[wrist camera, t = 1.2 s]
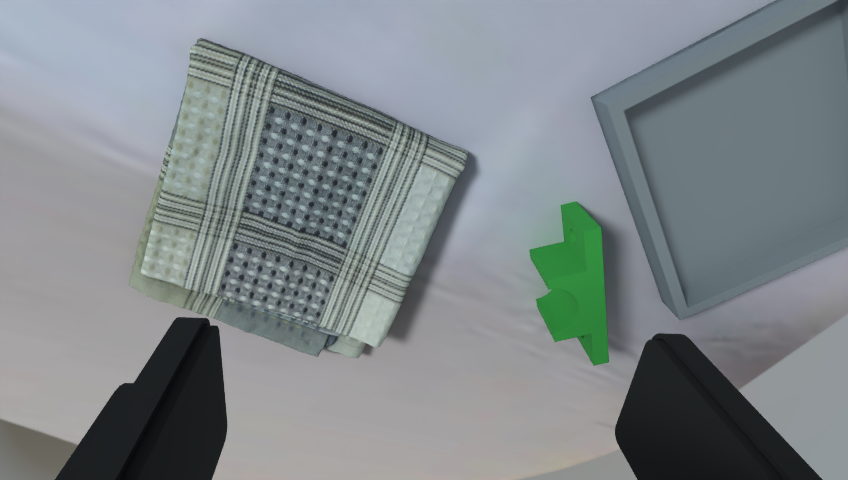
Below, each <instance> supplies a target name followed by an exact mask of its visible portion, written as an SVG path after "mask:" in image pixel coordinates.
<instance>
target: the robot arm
mask: <svg viewBox="0 0 848 480" xmlns="http://www.w3.org/2000/svg"><path fill="white" fill-rule="evenodd" d="M226 434H227V415H226V403H225V392H224V381H223V369H222V358H221V347H220V335H219V328H218V326H210V322H209V320H208V319H207V318H185V317H178V318H176V319H175V320H174V321H173V323H172V325H171V326H170V328H169V329H168V331H167V332H166V334H165V335H164V337H163V339H162V340H161V342H160V343H159V345H158V346H157V348H156V349H155V351H154V353H153V354H152V356H151V357H150V359H149V360H148V362H147V363H146V365H145V367H144V368H143V370H142V371H141V373H140V374H139V376H138V378H137V379H136V381H135V382H134V383H124V384H122V385H121V386H119V387H118V388H117V390H116V391H115V392H114V393H113V395H112V396H111V398H110V399H109V401H108V402H107V404H106V405H105V407H104V408H103V410H102V411H101V412H100V414H99V415H98V417H97V418H96V420H95V421H94V423H93V424H92V426H91V427H90V429H89V430H88V432H87V433H86V435H85V436H84V438H83V439H82V440H81V442H80V443H79V445H78V446H77V448H76V449H75V451H74V453H73V454H72V455H71V457H70V458H69V460H68V461H67V463H66V464H65V466H64V467H63V469H62V470H61V471H60V473H59V474H58V476H57V477H56V479H55V480H212V477H213V474H214V472H215V469H216V466H217V463H218V460H219V457H220V454H221V451H222V448H223V446H224V442H225V439H226ZM615 436H616V440H617V443H618V445H619V447H620V449H621V450H622V452H623V454H624V456H625V457H626V459H627V461H628V463H629V465H630V467H631V468H632V470H633V472H634V474H635V476H636V477H637V479H638V480H822V479H821V478H820V477H819V475H818V474H817V473H816V472H815V471H814V470H813V469H812V468H811V467H810V466H809V465H808V464H807V463H806V462H805V461H804V460H803V459H802V458H801V456H800V455H799V454H798V453H797V452H796V451H795V450H794V449H793V448H792V447H791V446H790V445H789V444H788V443H787V442H786V441H785V440H784V439H783V438H782V436H781V435H780V434H779V433H778V432H777V431H776V430H775V429H774V428H773V427H772V426H771V425H770V424H769V423H768V422H767V421H766V419H765V418H763V416H762V415H761V414H760V413H759V412H758V411H757V410H756V409H755V408H754V407H753V406H752V405H751V404H750V403H749V402H748V401H747V399H745V397H744V396H743V395H742V394H741V393H740V392H739V391H738V390H737V389H736V388H735V387H734V386H733V385H732V384H731V383H730V381H729V380H728V379H727V378H726V377H725V376H724V375H723V374H722V373H721V372H720V371H719V370H718V369H717V368H716V367H715V366H714V365H713V363H712V362H711V361H710V360H709V359H708V358H707V357H706V356H705V355H704V354H703V353H702V352H701V351H700V350H699V349H698V348H697V347H696V346H695V344H694V343H693V342H692V341H691V340H690V339H689V338H688V337H686V336H685V335H682V334H660V333H659V334H656V335H655V336H654V337H653V338H652V340H648V341H647V342H646V344H645V346H644V349H643V352H642V355H641V358H640V360H639V363H638V366H637V369H636V371H635V374H634V377H633V380H632V382H631V385H630V388H629V391H628V394H627V396H626V399H625V402H624V405H623V407H622V410H621V413H620V416H619V418H618V421H617V424H616V428H615Z"/></svg>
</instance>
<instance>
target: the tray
mask: <svg viewBox="0 0 848 480" xmlns="http://www.w3.org/2000/svg"><path fill="white" fill-rule="evenodd" d="M591 100H592V103H593V105H594V108H595V111H596V114H597V117H598V120H599V122H600V125H601V128H602V131H603V134H604V137H605V139H606V142H607V145H608V148H609V151H610V154H611V157H612V159H613V162H614V165H615V168H616V171H617V174H618V176H619V179H620V182H621V185H622V188H623V191H624V194H625V196H626V199H627V202H628V205H629V208H630V211H631V213H632V216H633V219H634V222H635V225H636V228H637V230H638V233H639V236H640V239H641V242H642V245H643V248H644V250H645V253H646V256H647V259H648V262H649V265H650V267H651V270H652V273H653V276H654V279H655V282H656V285H657V287H658V290H659V293H660V296H661V299H662V302H663V303H664V304H665V305H666V306H667V307H668V308H669V309H670V310H671V311H672V313H673V314H674V315H675V316H676V317H677V318H678V319H679V320H682V319H684V318H687V317H689V316H691V315H693V314H696V313H698V312H700V311H702V310H705V309H707V308H709V307H711V306H714V305H716V304H718V303H720V302H723V301H725V300H727V299H730V298H732V297H734V296H736V295H739V294H741V293H743V292H745V291H748V290H750V289H752V288H754V287H757V286H759V285H761V284H763V283H766V282H768V281H770V280H772V279H775V278H777V277H779V276H781V275H784V274H786V273H788V272H791V271H793V270H795V269H797V268H800V267H802V266H804V265H806V264H809V263H811V262H813V261H815V260H818V259H820V258H822V257H824V256H827V255H829V254H831V253H833V252H836V251H838V250H840V249H842V248H845V247H847V246H848V0H776V1H774V2H772V3H770V4H768V5H766V6H764V7H762V8H761V9H759V10H757V11H755V12H753V13H751V14H749V15H747V16H745V17H743V18H742V19H740V20H738V21H736V22H734V23H732V24H730V25H728V26H726V27H724V28H722V29H721V30H719V31H717V32H715V33H713V34H711V35H709V36H707V37H705V38H703V39H701V40H700V41H698V42H696V43H694V44H692V45H690V46H688V47H686V48H684V49H682V50H681V51H679V52H677V53H675V54H673V55H671V56H669V57H667V58H665V59H663V60H661V61H660V62H658V63H656V64H654V65H652V66H650V67H648V68H646V69H644V70H642V71H640V72H639V73H637V74H635V75H633V76H631V77H629V78H627V79H625V80H623V81H621V82H620V83H618V84H616V85H614V86H612V87H610V88H608V89H606V90H604V91H602V92H600V93H599V94H597V95H595V96H593V97H591Z"/></svg>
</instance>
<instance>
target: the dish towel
mask: <svg viewBox="0 0 848 480" xmlns="http://www.w3.org/2000/svg"><path fill="white" fill-rule="evenodd" d="M468 155H469V153H468V152H467V151H465V150H463V149H461V148H459V147H456V146H453V145H450V144H447V143H445V142H444V141H440V140H437V139H435V138H433V137H432V136H430V135H427V134H425V133H423V132H420V131H418V130H416V129H414V128H412V127H410V126H408V125H405V124H403V123H401V122H399V121H397V120H395V119H393V118H391V117H389V116H387V115H385V114H383V113H381V112H379V111H377V110H375V109H373V108H371V107H368V106H366V105H363V104H360V103H358V102H355V101H353V100H350V99H348V98H347V97H344V96H341V95H339V94H336V93H334V92H332V91H330V90H328V89H325V88H323V87H320V86H318V85H316V84H314V83H311V82H309V81H307V80H304V79H302V78H301V77H299V76H296V75H294V74H291V73H289V72H287V71H285V70H281V69H279V68H277V67H274V66H272V65H269V64H267V63H265V62H262V61H260V60H258V59H256V58H254V57H252V56H249V55H247V54H244V53H242V52H239V51H236V50H231V49H229V48H226V47H224V46H222V45H220V44H216V43H213V42H210V41H208V40H205V39H202V38H200V39H198V40H197V44H195V45H194V46H192V47H191V49H190V65H189V69H188V76H187V82H186V87H185V91H184V94H183V99H182V101H181V106H180V109H179V113H178V116H177V120H176V123H175V126H174V129H173V132H172V136H171V139H170V142H169V145H168V148H167V151H166V154H165V158H164V161H163V165H162V168H161V172H160V176H159V179H158V183H157V186H156V189H155V192H154V196H153V199H152V203H151V206H150V209H149V212H148V215H147V217H146V222H145V226H144V228H143V231H142V235H141V237H140V240H139V243H138V248H137V252H136V260H135V263H134V265H133V270H132V273H131V276H130V280H129V286H131V287H132V288H134V289H136V290H138V291H139V292H141V293H142V294H143V295H145V296H149V297H152V298H154V299H156V300H157V301H160V302H165V303H169V304H172V305H175V306H177V307H180V308H185V309H189V310H191V311H193V312H195V313H199V314H203V315H206V316H208V317H211V318H214V319H217V320H219V321H222V322H224V323H226V324H228V325H230V326H233V327H236V328H238V329H241V330H243V331H244V332H248V333H253V334H256V335H259V336H262V337H265V338H267V339H269V340H272V341H275V342H278V343H280V344H283V345H285V346H288V347H290V348H293V349H295V350H298V351H300V352H304V353H306V354H309V355H314V356H316V357H318V356H319V353H320V352H321V351H322V349H323V347H324V348H326V349H328V350H330V351H333V352H338V353H341V354H344V355H346V356H348V357H352V358H359V356H360V355H361V353H362V352H363V350H364V348H365V346H366V344H369V345H371V346H373V347H375V348H377V347H379V346H380V345H381V344H382V342H383V340H384V339H385V337H386V335H387V333H388V331H389V329H390V327H391V325H392V322H393V320H394V319H395V317H396V314H397V312H398V310H399V308H400V306H401V304H402V301H403V298H404V296H405V293H406V291H407V289H408V286H409V284H410V282H411V280H412V278H413V276H414V274H415V272H416V270H417V267H418V265H419V263H420V262H421V260H422V257H423V255H424V252H425V251H426V248H427V245H428V242H429V239H430V238H431V236H432V233H433V231H434V229H435V227H436V225H437V222H438V219H439V217H440V215H441V213H442V211H443V208H444V206H445V203H446V201H447V199H448V197H449V195H450V193H451V190H452V188H453V186H454V185H455V182H456V179H457V177H458V176H459V175H460V174H461V173H462V171H463V170H464V169H465V167H466V160H467V158H468Z"/></svg>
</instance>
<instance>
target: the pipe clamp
mask: <svg viewBox="0 0 848 480" xmlns="http://www.w3.org/2000/svg"><path fill="white" fill-rule="evenodd" d="M561 212H562V222H563V232H564V242H561V243H557V244H552V245H548V246H544V247H539V248H535V249H531V250H530V256H531V260H532V261H533V263H534V265H535V267H536V268H537V270H538V272H539V274H540V275H541V277H542V279H543V281H544V282H545V284H546V286H547V287H548V289H549V290H550V289H552V291H551V292H549V293H548V294H547V295H545V296H544V297H542V298H539V299H536V301H537V307H538V309H539V311H540V313H541V315H542V317H543V319H544V321H545V323H546V325H547V327H548V329H549V331H550V333H551V335H552V337H553V339H554V341H555V342H557V341H561V340H565V339H570V338H574V337H578V339H579V341H580V343H581V344H582V346H583V348H584V349H585V351H586V353H587V355H588V356H589V358H590V360H591V362H592V363H593V365H598V364H603V363H607V362H609V355H608V338H607V320H606V302H605V285H604V267H603V249H602V232H601V227H600V226H599V225H598V224H597V223H596V221H595V220H594V219H593V218H592V217H591V216H590V215H589V214H588V213H587V212H586V211H585V210H584V209H583V208H582V207H581V206H580V205H579V204H578V203H577V202H572V203H568V204H564V205H561Z"/></svg>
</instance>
